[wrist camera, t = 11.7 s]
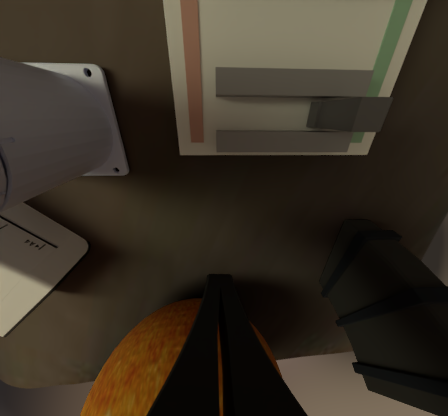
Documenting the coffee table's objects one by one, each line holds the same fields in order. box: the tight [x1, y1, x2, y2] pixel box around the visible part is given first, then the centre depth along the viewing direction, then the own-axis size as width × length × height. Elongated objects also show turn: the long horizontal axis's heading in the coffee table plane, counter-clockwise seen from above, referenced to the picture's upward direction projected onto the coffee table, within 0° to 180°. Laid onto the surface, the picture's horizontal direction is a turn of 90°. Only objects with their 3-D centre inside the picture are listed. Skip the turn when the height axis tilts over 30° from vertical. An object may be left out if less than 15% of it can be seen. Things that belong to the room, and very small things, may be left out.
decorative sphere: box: [80, 298, 282, 416], centre depth 18 cm, size 20×20×20 cm
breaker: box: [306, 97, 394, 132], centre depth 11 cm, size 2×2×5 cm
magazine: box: [319, 220, 448, 416], centre depth 18 cm, size 4×13×15 cm, turn 179°
